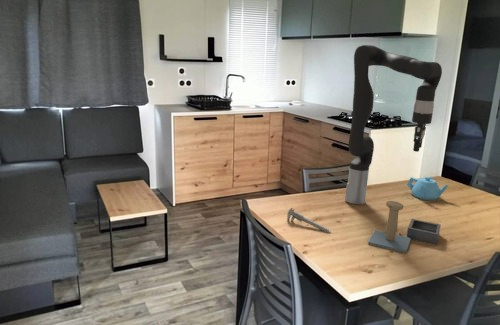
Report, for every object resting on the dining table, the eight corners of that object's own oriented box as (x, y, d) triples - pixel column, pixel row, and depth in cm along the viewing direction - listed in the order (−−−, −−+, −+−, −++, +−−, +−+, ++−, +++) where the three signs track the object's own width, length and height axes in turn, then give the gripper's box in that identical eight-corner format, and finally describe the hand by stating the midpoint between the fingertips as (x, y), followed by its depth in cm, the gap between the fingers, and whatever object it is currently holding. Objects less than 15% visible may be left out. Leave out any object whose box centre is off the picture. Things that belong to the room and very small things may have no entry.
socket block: (406, 238, 164) (407, 228, 163) (410, 228, 174) (411, 218, 172) (437, 245, 159) (438, 234, 158) (439, 234, 169) (440, 224, 167)
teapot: (429, 191, 224) (432, 172, 221) (447, 201, 210) (450, 181, 207) (404, 192, 221) (407, 173, 219) (420, 201, 207) (423, 181, 204)
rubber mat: (368, 244, 157) (368, 241, 157) (374, 232, 169) (375, 229, 168) (406, 253, 151) (406, 250, 151) (410, 240, 162) (410, 237, 162)
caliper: (287, 221, 177) (287, 207, 176) (288, 220, 178) (289, 206, 176) (330, 233, 166) (331, 219, 164) (331, 233, 167) (332, 218, 165)
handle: (392, 244, 156) (398, 207, 152) (379, 237, 161) (384, 202, 157) (400, 241, 159) (406, 205, 155) (387, 235, 164) (392, 200, 160)
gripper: (415, 108, 176) (410, 145, 181) (411, 112, 164) (405, 151, 169) (434, 110, 173) (428, 147, 177) (431, 114, 161) (424, 154, 165)
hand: (417, 149), depth 173 cm, fingers open, 8 cm apart
